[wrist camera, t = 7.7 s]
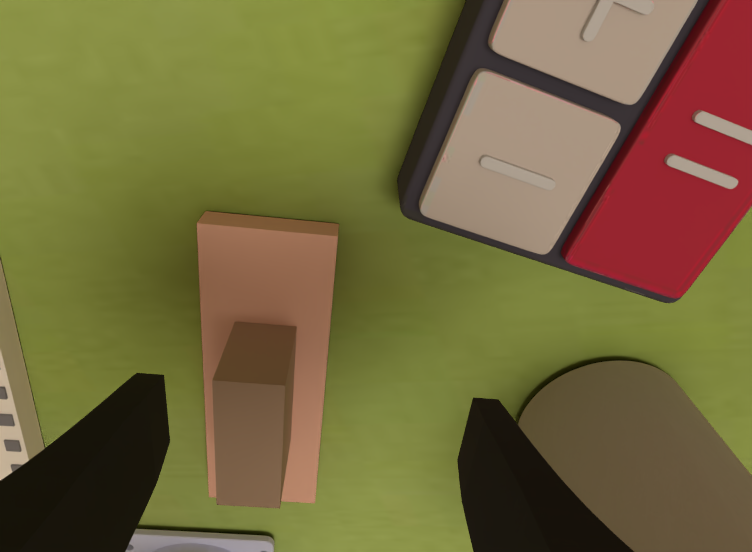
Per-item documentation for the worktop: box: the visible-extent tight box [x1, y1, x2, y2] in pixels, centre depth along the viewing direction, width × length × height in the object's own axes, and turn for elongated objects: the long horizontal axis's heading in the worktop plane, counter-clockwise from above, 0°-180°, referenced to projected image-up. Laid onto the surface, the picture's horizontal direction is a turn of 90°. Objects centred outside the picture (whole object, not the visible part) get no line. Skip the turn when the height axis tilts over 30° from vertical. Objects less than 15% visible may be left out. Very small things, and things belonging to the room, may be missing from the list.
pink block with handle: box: [197, 211, 339, 508], centre depth 21 cm, size 14×5×5 cm, turn 174°
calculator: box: [397, 0, 752, 303], centre depth 16 cm, size 11×4×15 cm
